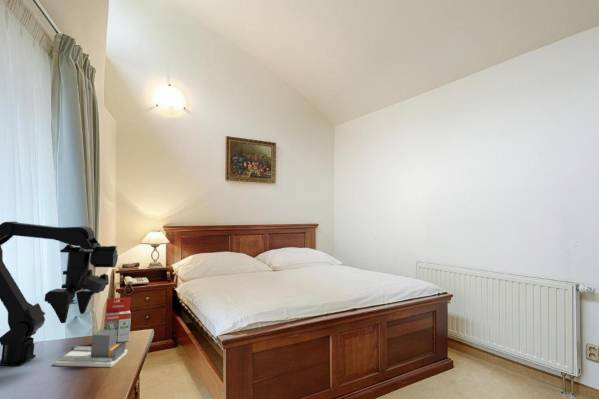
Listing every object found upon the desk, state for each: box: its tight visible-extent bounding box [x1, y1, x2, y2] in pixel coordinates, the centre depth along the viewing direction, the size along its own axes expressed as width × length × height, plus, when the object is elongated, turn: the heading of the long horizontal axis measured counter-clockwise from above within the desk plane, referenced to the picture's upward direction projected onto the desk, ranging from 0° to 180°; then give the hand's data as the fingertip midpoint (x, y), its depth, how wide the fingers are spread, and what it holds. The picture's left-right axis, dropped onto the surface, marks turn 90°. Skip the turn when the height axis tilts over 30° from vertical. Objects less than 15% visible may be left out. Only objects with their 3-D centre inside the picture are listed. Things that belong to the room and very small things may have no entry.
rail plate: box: [54, 341, 128, 368], centre depth 99 cm, size 16×10×4 cm, turn 94°
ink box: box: [103, 296, 132, 344], centre depth 113 cm, size 4×8×15 cm, turn 123°
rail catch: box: [108, 344, 119, 357], centre depth 99 cm, size 1×4×2 cm, turn 3°
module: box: [91, 329, 117, 357], centre depth 99 cm, size 5×4×7 cm
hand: (73, 318), depth 99 cm, fingers open, 9 cm apart
